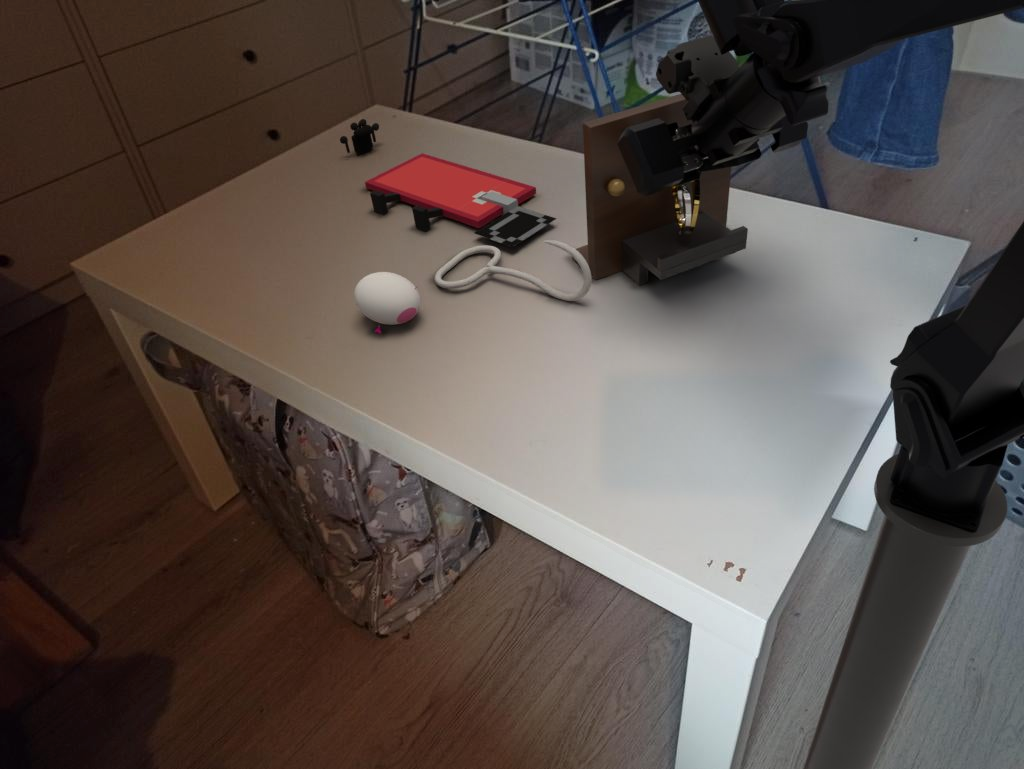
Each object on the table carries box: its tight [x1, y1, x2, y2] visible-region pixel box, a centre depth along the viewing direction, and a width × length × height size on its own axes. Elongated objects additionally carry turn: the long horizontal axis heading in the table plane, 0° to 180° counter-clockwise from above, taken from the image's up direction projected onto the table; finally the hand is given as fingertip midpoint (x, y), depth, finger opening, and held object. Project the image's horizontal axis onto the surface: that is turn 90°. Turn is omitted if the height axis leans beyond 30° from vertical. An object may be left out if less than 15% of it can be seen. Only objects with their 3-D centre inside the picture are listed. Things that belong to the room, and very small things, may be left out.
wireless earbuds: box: [339, 118, 380, 155], centre depth 122 cm, size 7×2×5 cm, turn 131°
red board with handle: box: [364, 152, 557, 248], centre depth 106 cm, size 30×3×15 cm
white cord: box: [434, 239, 593, 302], centre depth 89 cm, size 7×9×20 cm
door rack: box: [571, 93, 749, 286], centre depth 86 cm, size 13×18×18 cm
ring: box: [672, 168, 701, 236], centre depth 84 cm, size 7×3×8 cm, turn 179°
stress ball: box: [354, 271, 421, 335], centre depth 87 cm, size 8×8×7 cm
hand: (677, 172), depth 84 cm, fingers closed on ring, 3 cm apart
